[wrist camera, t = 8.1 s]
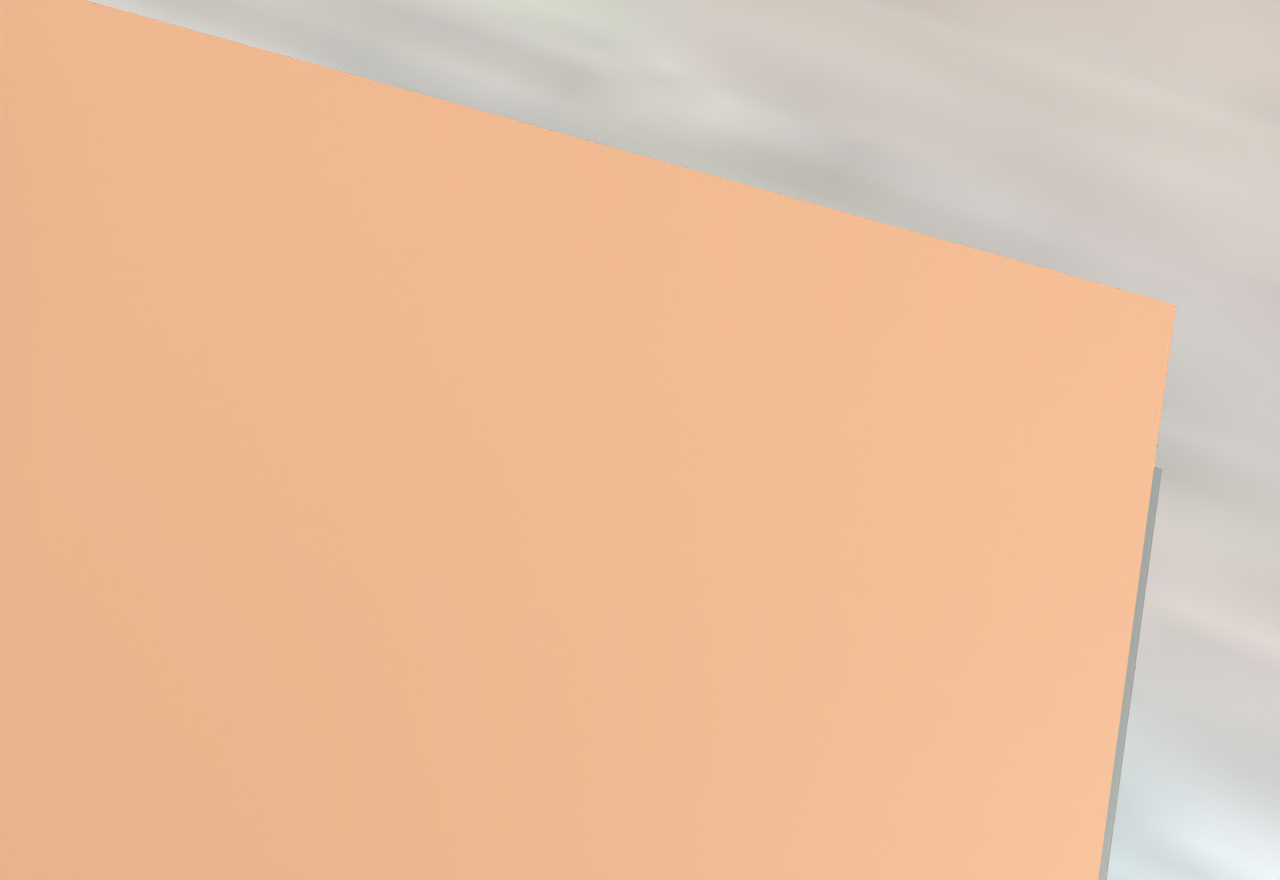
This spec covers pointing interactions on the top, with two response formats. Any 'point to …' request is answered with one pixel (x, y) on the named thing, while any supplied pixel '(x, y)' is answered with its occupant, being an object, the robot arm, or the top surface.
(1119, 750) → the tray
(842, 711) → the peach block
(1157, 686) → the top surface
